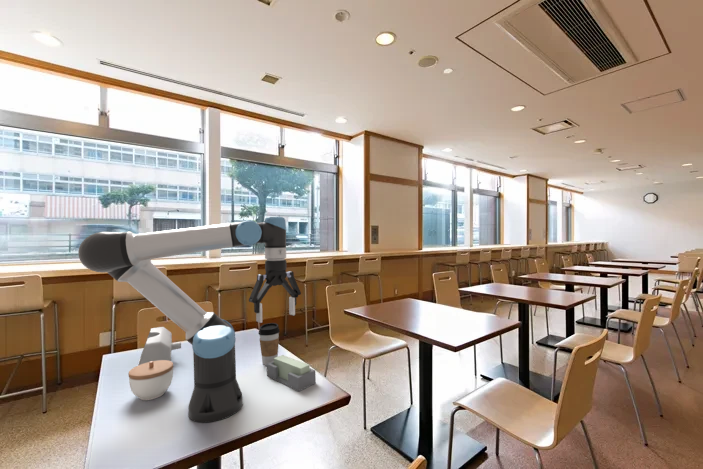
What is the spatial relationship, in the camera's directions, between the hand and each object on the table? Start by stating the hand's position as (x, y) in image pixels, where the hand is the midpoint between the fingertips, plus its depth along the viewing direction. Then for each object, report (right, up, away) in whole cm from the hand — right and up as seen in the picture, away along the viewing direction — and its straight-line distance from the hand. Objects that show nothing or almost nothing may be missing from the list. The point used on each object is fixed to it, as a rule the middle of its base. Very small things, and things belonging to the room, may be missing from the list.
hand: (276, 318), depth 117 cm
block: (+6, -21, -2) cm, 22 cm away
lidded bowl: (-39, -23, -10) cm, 46 cm away
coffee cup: (-6, -22, +14) cm, 27 cm away
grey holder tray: (+5, -21, -2) cm, 22 cm away
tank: (-52, -23, +17) cm, 60 cm away
